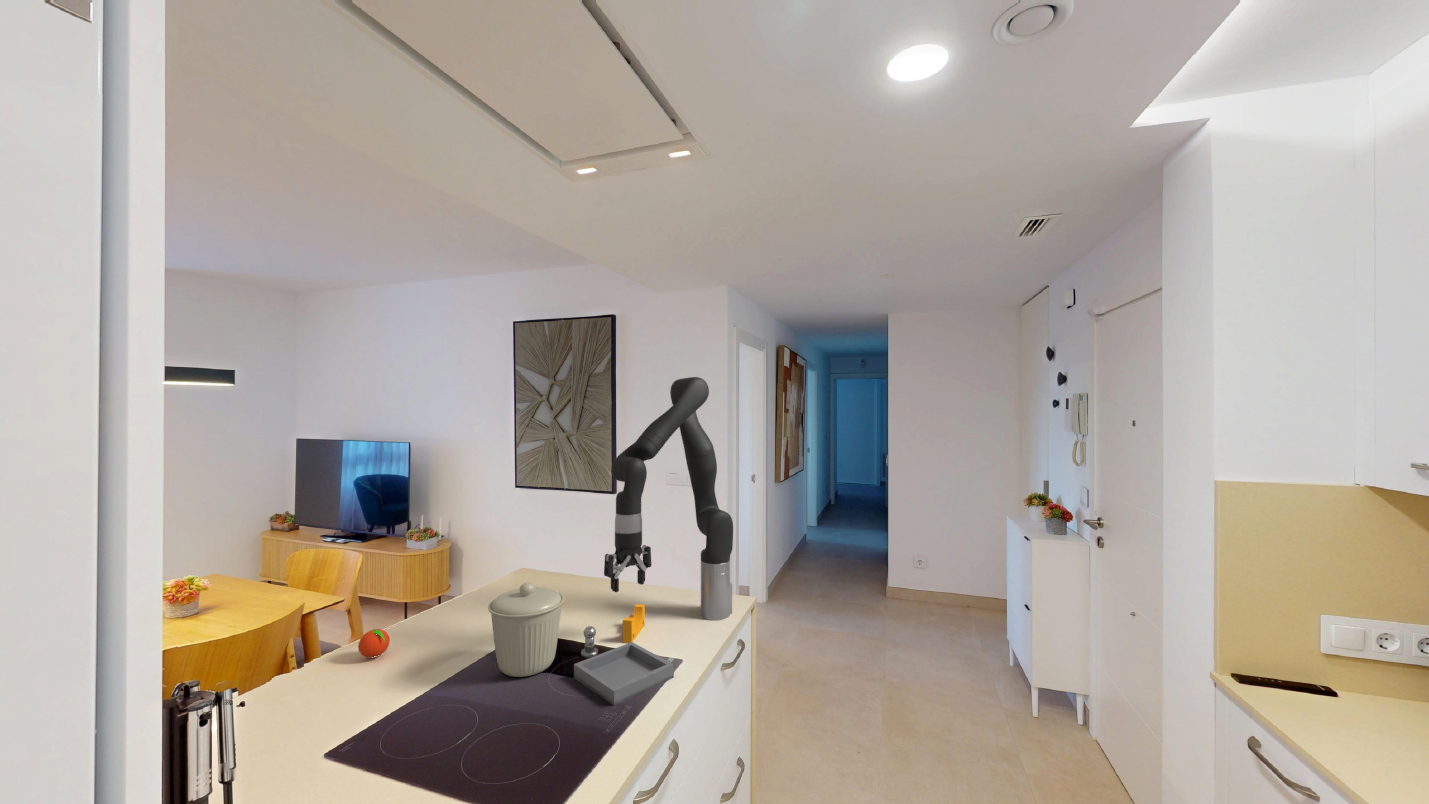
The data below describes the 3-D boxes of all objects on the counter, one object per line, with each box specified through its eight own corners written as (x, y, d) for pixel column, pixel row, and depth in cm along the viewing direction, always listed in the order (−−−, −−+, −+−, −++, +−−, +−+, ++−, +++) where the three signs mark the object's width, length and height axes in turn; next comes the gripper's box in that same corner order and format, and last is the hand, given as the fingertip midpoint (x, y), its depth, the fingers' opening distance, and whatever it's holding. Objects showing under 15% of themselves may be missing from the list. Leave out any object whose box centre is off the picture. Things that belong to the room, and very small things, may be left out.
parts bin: (631, 655, 140) (631, 641, 140) (673, 678, 128) (673, 664, 128) (574, 678, 128) (574, 664, 128) (614, 707, 116) (614, 691, 116)
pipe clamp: (630, 625, 159) (630, 603, 159) (644, 626, 158) (644, 604, 158) (616, 643, 147) (616, 619, 147) (631, 644, 147) (631, 620, 147)
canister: (578, 656, 139) (578, 576, 139) (533, 691, 122) (533, 600, 122) (521, 646, 145) (521, 569, 145) (471, 678, 128) (471, 591, 128)
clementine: (398, 654, 140) (398, 627, 140) (371, 666, 134) (371, 637, 134) (378, 648, 144) (378, 622, 144) (352, 659, 137) (352, 632, 137)
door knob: (592, 648, 144) (592, 621, 144) (601, 653, 140) (601, 626, 140) (577, 653, 140) (578, 626, 140) (586, 659, 137) (586, 631, 137)
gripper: (641, 522, 155) (640, 578, 154) (598, 531, 145) (598, 590, 144) (657, 527, 149) (656, 584, 149) (614, 535, 139) (614, 597, 139)
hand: (628, 587), depth 147 cm, fingers open, 8 cm apart
